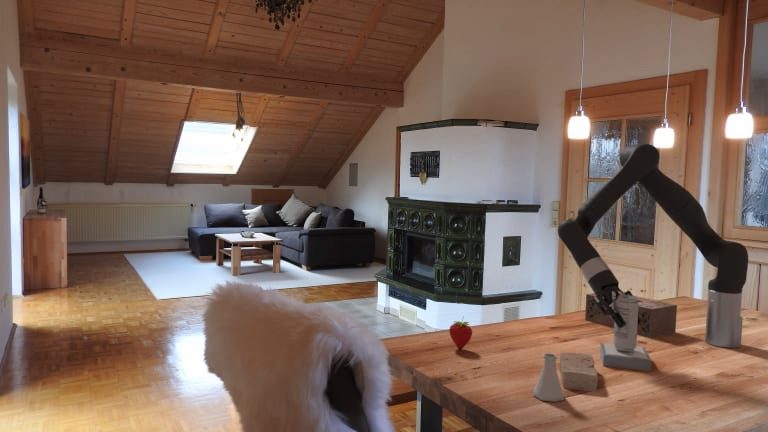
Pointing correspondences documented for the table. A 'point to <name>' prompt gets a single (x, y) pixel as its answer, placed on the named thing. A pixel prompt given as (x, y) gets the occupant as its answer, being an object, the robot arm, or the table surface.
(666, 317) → the tissue box cover
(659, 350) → the table surface
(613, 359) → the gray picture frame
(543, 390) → the flask
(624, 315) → the energy drink can
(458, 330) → the strawberry
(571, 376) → the brick
